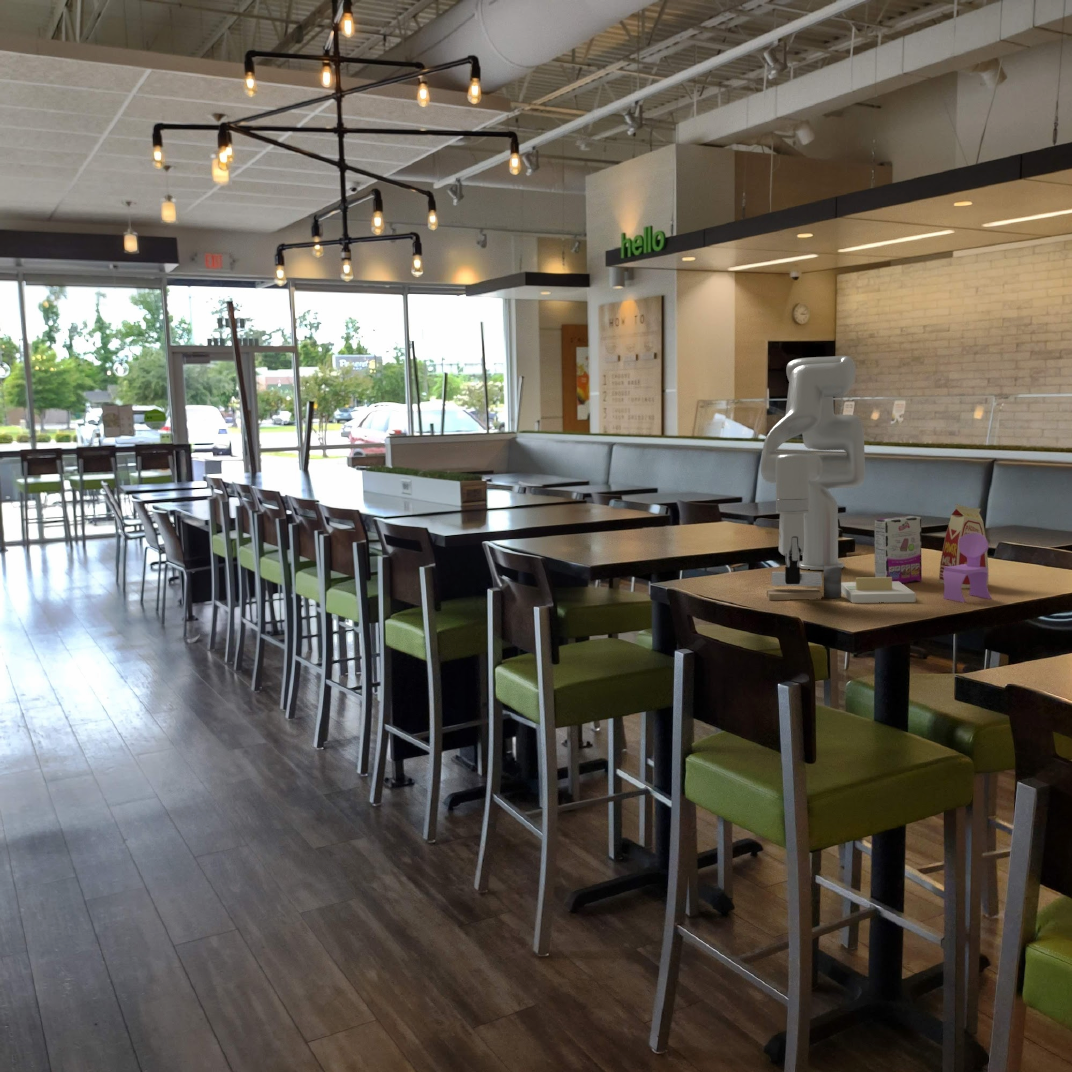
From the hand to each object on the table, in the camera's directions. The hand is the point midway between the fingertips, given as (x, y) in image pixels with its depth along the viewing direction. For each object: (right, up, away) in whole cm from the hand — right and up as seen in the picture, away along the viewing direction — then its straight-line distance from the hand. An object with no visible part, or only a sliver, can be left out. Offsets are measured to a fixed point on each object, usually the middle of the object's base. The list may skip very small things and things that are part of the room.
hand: (792, 583), depth 239 cm
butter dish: (+20, -3, -1) cm, 20 cm away
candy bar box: (+31, -1, +16) cm, 34 cm away
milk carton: (+45, -1, +10) cm, 46 cm away
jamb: (+3, -3, +1) cm, 5 cm away
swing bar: (+2, 0, +3) cm, 3 cm away
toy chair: (+38, -3, -8) cm, 39 cm away
